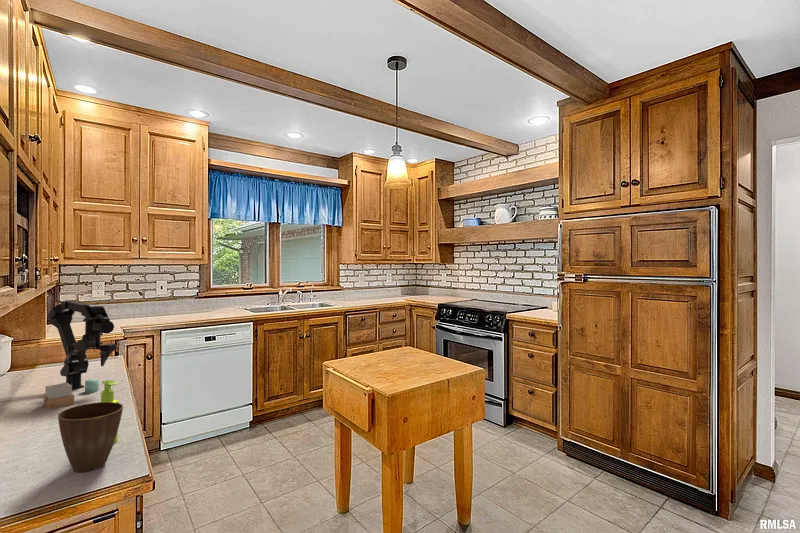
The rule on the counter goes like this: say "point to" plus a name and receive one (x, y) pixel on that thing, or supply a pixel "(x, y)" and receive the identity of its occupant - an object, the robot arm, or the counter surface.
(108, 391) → the soap dispenser
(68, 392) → the light grey block
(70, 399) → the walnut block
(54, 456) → the counter surface
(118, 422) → the plant pot
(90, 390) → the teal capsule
